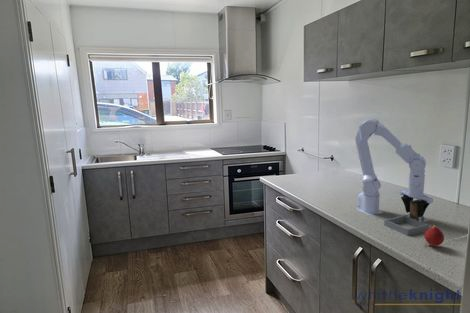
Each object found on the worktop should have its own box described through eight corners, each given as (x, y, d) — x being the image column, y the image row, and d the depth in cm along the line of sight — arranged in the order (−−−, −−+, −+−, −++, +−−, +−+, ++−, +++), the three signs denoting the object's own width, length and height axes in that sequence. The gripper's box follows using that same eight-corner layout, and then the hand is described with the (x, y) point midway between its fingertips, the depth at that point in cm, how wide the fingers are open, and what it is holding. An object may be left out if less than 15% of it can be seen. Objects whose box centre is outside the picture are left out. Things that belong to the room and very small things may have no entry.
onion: (435, 242, 113) (437, 222, 112) (446, 249, 107) (448, 228, 106) (420, 243, 113) (421, 222, 112) (430, 250, 107) (432, 229, 106)
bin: (384, 226, 129) (384, 219, 128) (404, 222, 133) (404, 215, 132) (407, 237, 118) (407, 229, 118) (428, 231, 122) (428, 224, 122)
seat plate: (397, 217, 138) (397, 214, 137) (412, 214, 141) (412, 211, 140) (415, 224, 129) (415, 221, 129) (430, 221, 132) (431, 217, 132)
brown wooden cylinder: (406, 217, 136) (407, 200, 134) (414, 216, 137) (415, 198, 136) (413, 220, 132) (414, 202, 131) (421, 218, 134) (423, 201, 133)
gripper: (439, 187, 127) (436, 218, 129) (408, 179, 140) (406, 207, 143) (426, 189, 125) (424, 221, 127) (397, 181, 138) (395, 210, 140)
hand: (414, 214), depth 135 cm, fingers open, 5 cm apart
